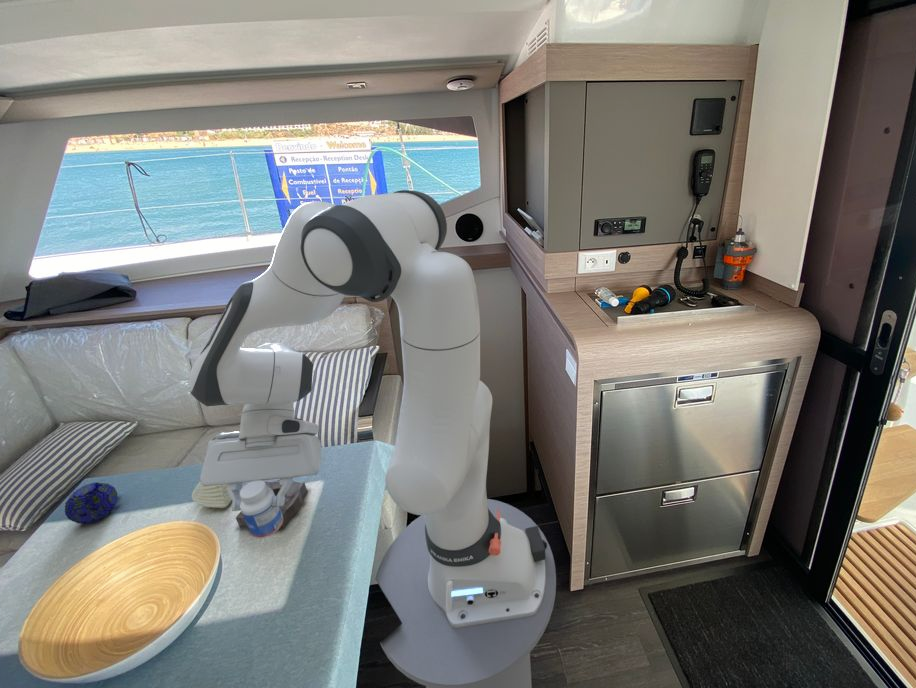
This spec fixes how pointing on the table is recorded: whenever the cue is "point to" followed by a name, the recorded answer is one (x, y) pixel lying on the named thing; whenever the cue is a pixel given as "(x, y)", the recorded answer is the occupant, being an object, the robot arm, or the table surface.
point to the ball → (91, 502)
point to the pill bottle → (260, 509)
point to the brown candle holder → (290, 503)
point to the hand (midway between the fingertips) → (258, 508)
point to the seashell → (211, 495)
